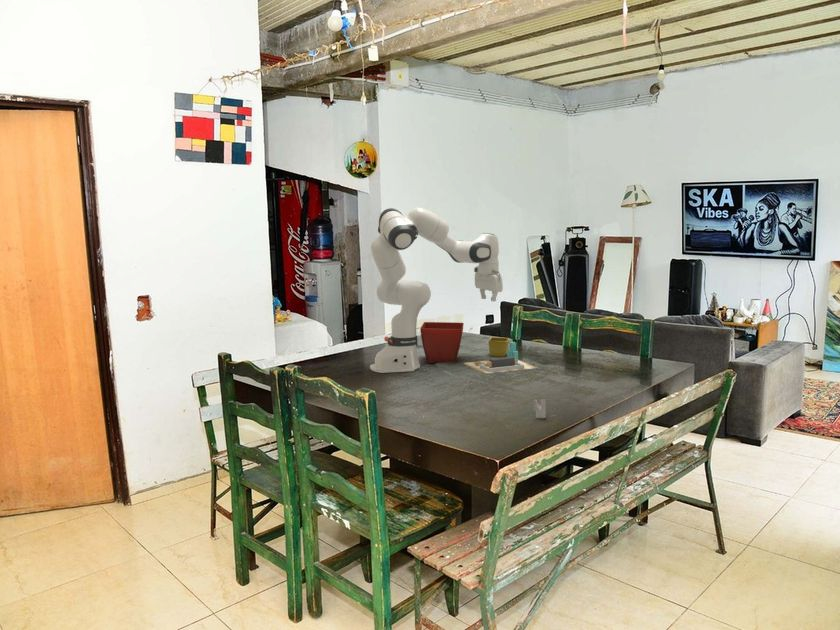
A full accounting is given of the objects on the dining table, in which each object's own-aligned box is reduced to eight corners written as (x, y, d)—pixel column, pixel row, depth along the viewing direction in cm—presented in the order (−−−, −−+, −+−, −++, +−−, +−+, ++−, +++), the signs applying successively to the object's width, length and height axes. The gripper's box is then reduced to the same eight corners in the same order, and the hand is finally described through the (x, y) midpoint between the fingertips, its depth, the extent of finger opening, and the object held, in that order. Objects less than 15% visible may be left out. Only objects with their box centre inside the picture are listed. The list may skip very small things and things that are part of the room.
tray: (489, 372, 285) (489, 368, 285) (479, 368, 294) (479, 364, 293) (524, 368, 292) (524, 365, 292) (513, 364, 300) (513, 360, 300)
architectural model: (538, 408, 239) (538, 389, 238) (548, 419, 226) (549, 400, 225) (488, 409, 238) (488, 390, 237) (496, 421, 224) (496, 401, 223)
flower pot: (509, 356, 323) (509, 337, 322) (506, 360, 315) (507, 341, 313) (490, 355, 325) (491, 337, 324) (488, 359, 317) (488, 340, 315)
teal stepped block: (514, 362, 302) (514, 343, 301) (507, 359, 308) (507, 341, 307) (517, 362, 303) (518, 343, 302) (511, 359, 309) (511, 341, 307)
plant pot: (463, 356, 323) (463, 322, 320) (462, 365, 304) (462, 328, 301) (424, 356, 325) (423, 321, 322) (420, 365, 306) (419, 328, 303)
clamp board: (485, 376, 284) (485, 370, 283) (462, 365, 304) (462, 359, 304) (538, 370, 293) (538, 364, 293) (512, 360, 314) (512, 354, 313)
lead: (489, 369, 289) (490, 360, 288) (486, 368, 292) (486, 359, 291) (517, 366, 294) (517, 357, 293) (513, 365, 297) (513, 356, 296)
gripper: (506, 270, 294) (506, 302, 296) (484, 267, 313) (484, 297, 315) (493, 271, 292) (493, 303, 294) (472, 268, 310) (472, 297, 312)
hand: (488, 300), depth 304 cm, fingers open, 8 cm apart
